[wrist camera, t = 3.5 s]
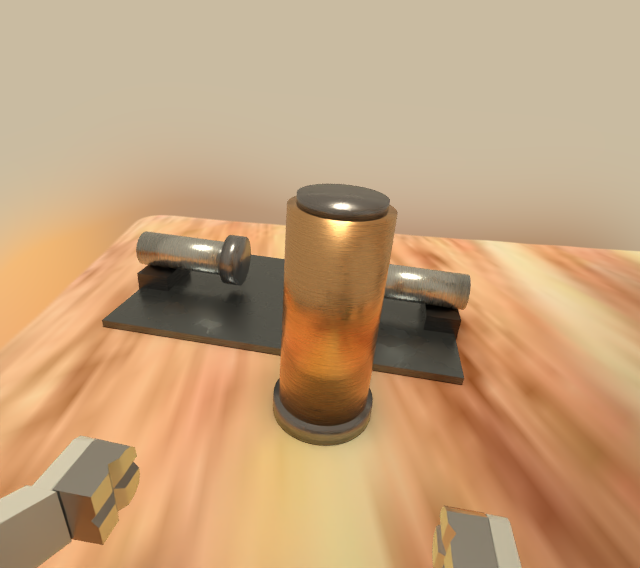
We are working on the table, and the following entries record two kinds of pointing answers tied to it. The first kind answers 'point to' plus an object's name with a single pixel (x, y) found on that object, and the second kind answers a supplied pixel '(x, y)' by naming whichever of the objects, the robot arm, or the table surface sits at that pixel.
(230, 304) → the shaft bench
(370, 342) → the amber capped cylinder
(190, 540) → the table surface
